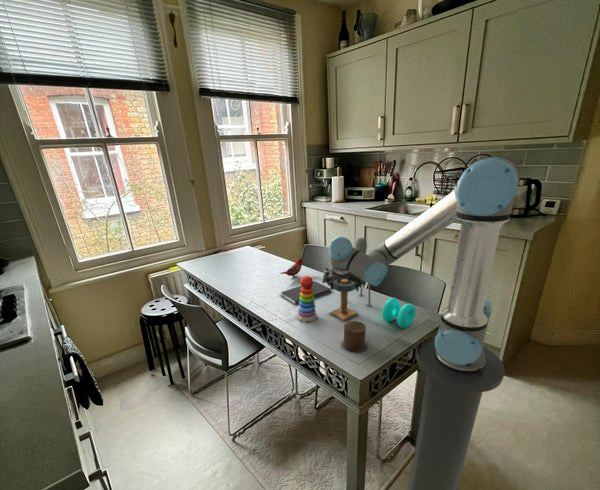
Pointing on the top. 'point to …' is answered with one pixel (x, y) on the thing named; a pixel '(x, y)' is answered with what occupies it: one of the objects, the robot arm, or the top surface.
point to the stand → (354, 336)
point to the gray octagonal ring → (344, 286)
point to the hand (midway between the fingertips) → (344, 287)
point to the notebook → (295, 292)
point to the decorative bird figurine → (294, 268)
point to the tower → (343, 306)
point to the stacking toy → (306, 300)
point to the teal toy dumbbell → (398, 312)
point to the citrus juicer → (362, 247)
